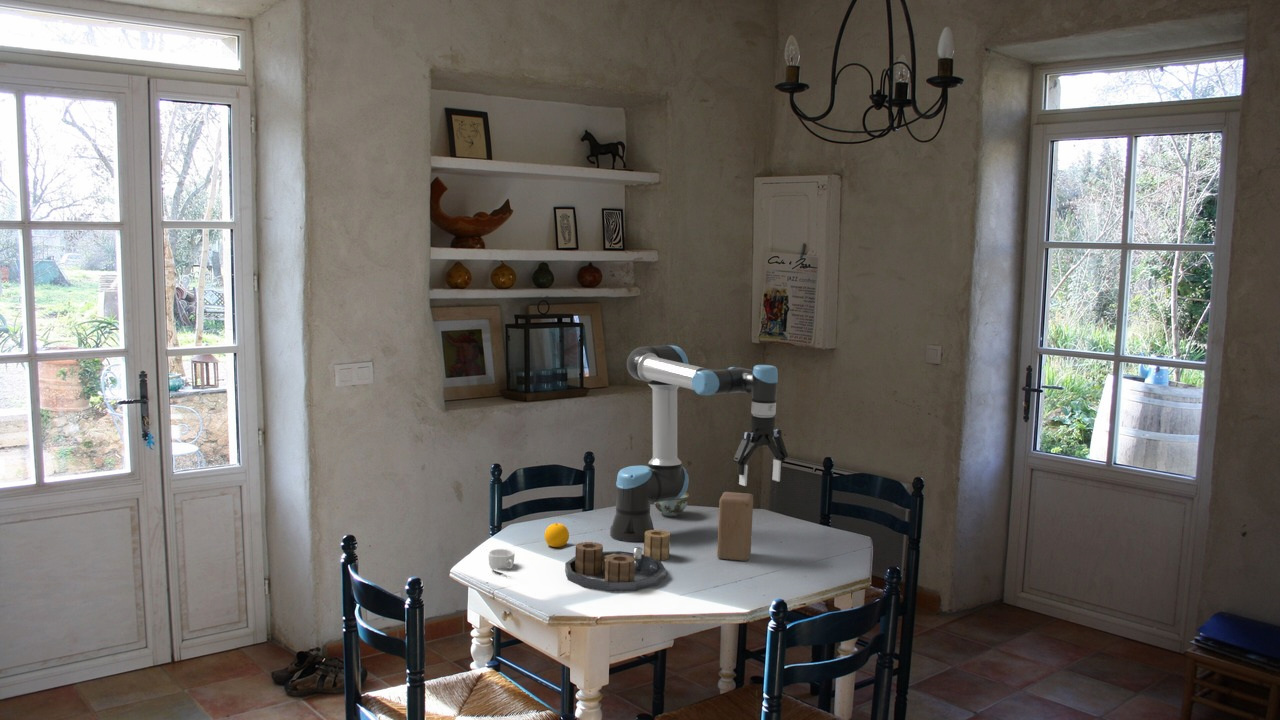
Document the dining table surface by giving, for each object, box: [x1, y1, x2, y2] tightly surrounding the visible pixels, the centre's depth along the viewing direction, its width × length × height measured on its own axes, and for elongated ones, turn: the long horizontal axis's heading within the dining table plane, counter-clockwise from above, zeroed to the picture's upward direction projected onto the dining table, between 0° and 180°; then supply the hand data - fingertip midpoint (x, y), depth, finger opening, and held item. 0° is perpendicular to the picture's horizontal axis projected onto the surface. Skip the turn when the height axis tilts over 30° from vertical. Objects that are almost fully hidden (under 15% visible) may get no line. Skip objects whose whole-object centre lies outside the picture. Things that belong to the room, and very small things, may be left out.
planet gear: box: [643, 529, 671, 561], centre depth 315 cm, size 8×8×8 cm
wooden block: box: [716, 491, 754, 562], centre depth 317 cm, size 10×10×20 cm
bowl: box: [653, 491, 690, 518], centre depth 365 cm, size 14×13×8 cm
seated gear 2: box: [605, 554, 635, 581], centre depth 282 cm, size 8×8×8 cm
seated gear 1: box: [574, 541, 604, 575], centre depth 294 cm, size 8×8×8 cm
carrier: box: [564, 546, 666, 593], centre depth 291 cm, size 29×29×8 cm
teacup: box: [488, 548, 515, 573], centre depth 295 cm, size 10×8×5 cm
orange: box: [544, 522, 570, 548], centre depth 322 cm, size 8×8×8 cm
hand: (759, 482), depth 306 cm, fingers open, 13 cm apart
